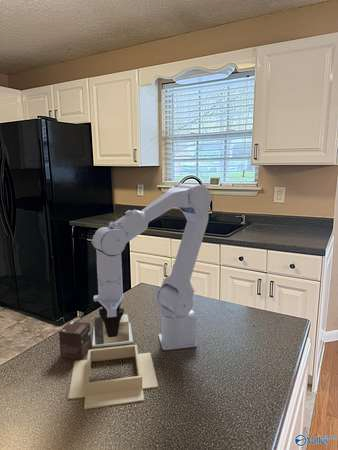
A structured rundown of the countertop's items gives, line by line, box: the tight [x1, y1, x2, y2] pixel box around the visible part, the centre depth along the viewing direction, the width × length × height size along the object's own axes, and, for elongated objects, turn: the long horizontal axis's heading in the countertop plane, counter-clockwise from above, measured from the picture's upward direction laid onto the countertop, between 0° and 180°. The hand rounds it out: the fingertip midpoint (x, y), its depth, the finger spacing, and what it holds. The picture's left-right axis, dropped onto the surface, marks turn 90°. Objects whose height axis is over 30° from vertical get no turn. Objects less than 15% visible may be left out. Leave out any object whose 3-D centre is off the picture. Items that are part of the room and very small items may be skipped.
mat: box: [91, 321, 134, 349], centre depth 92 cm, size 11×11×1 cm
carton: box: [67, 344, 159, 410], centre depth 75 cm, size 19×20×3 cm
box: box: [58, 320, 92, 361], centre depth 83 cm, size 6×6×7 cm
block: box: [93, 313, 130, 345], centre depth 77 cm, size 8×4×5 cm, turn 102°
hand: (112, 331), depth 77 cm, fingers closed on block, 4 cm apart
